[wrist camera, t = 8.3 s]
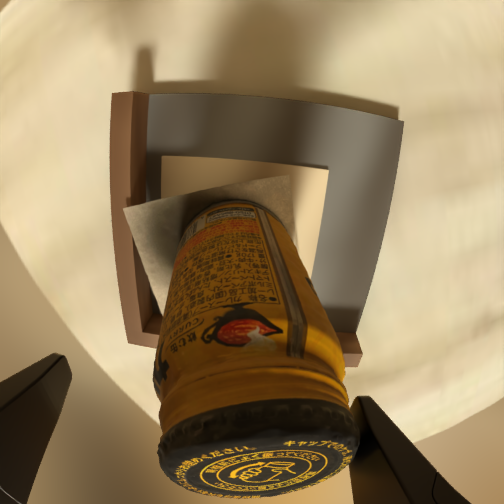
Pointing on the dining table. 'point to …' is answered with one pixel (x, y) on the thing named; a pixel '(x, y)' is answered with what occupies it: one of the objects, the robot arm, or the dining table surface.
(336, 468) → the condiment
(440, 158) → the dining table surface
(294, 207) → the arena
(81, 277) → the dining table surface
